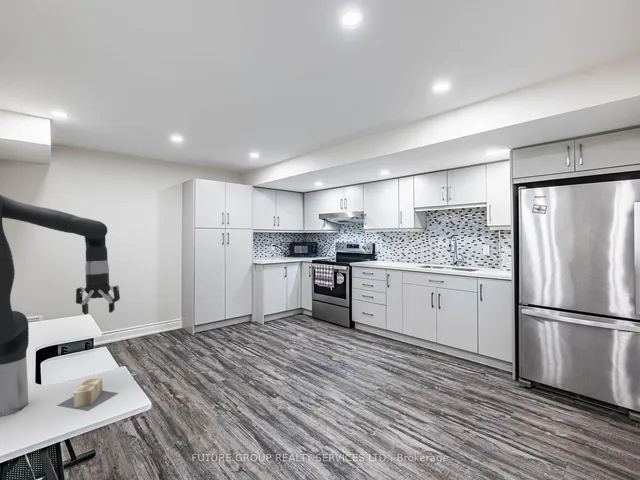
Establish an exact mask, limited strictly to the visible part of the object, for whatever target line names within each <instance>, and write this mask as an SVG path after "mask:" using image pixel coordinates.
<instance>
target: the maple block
mask: <svg viewBox="0 0 640 480" xmlns="http://www.w3.org/2000/svg"><path fill="white" fill-rule="evenodd" d="M102 391H104V390H103V378H102V377H99V378H91V379H86V380H85V381H84V382H82V384H81V385H80V386H79V387H78V388H77V389H76V390H75V391H74V392H73V397H74V407H82V406H90V405H92V403H93V402H94V401H95V400H96V399H97V397H98V396H99V395H100V394H101V392H102Z"/></svg>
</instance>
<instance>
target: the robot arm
mask: <svg viewBox="0 0 640 480" xmlns="http://www.w3.org/2000/svg"><path fill="white" fill-rule="evenodd" d="M3 218H4V219H10V220H16V221H19V222H25V223H29V224H31V225H36V226H38V227H43V228H46V229H50V230H53V231H58V232H63V233H68V234H74V235H77V236H80V237H84V242H85V243H84V244H85V269H84V270H85V287H81V286H80V287H77V288H76V290H75V291H76V292H75V303H76V304H80V305H81V307H82V308H81V313H82V314H83V315H88V314H89V304H88V303H89V302H90V300H92V299H97V298H98V299H105V300H106V301H108V313H110V314H111V313H113V312H114V311H115V303H116V302H118V301H120V299H121V297H120V288H119V285H114V286H110V267H109V260H108V259H109V258H108V249H107V248H108V247H107V245H106V236H107V233H108V227H107V225H106V224H105V223H103V222H102V221H99V220H96V219H92V218H91V219H90V218H86V217H81V216H78V215H75V214H71V213H67V212H63V211H60V210H57V209H51V208H47V207H41V206H36V205H31V204H27V203H23V202H19V201H17V200H14V199H12V198H9V197H6V196H4V195H2V194H0V415H5V416H7V415H6V414H9V415H13V414H15V413H18V412H20V411H22V410H23V409H24V408H26V407H27V406H28V405H29V403H30V402H29V386H28V385H29V379H28V363H27V362H28V361H27V360H28V359H27V349H29V348H28V347H29V342H30V341H29V334H30V333H29V332H30V331H29V321H28V318H27V316H26V315H25V314H24V313H23V312H21V311H18V310H13V309H12V304H11V293H12V289H13V284H14V281H15V276H16V275H15V271H16V270H15V265H14V259H13V254H12V253H13V252H12V251H11V247H10V243H9V242H8V238H7V237H6V234H5V231H4V226H3V225H4V224H3ZM110 291H111V292H113V296H112V294H110V293H109V292H110ZM85 293H86V296H85V297H84V299H83V295H84V294H85ZM12 413H13V414H12Z"/></svg>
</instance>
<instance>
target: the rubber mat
mask: <svg viewBox="0 0 640 480" xmlns="http://www.w3.org/2000/svg"><path fill="white" fill-rule="evenodd" d="M118 394H119V392H115V391H106V390H103V391H102V392H101V394H100V395H99V396H98V397H97V399H96V400H95V401H94V402H93V403H92V405H90V406H82V407H74V396H71V397H70V398H68V399H66V400H64V401H62V402H61V403H58V404H57V405H56V406H57V407H62V408H68V409H74V410H80V411H86V412H89V411H91V410H93V409H95V408H96V407H98V406H99V405H102V404H103V403H104V402H106V401H108V400H110V399H112V398H114V397H115V396H116V395H118Z"/></svg>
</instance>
